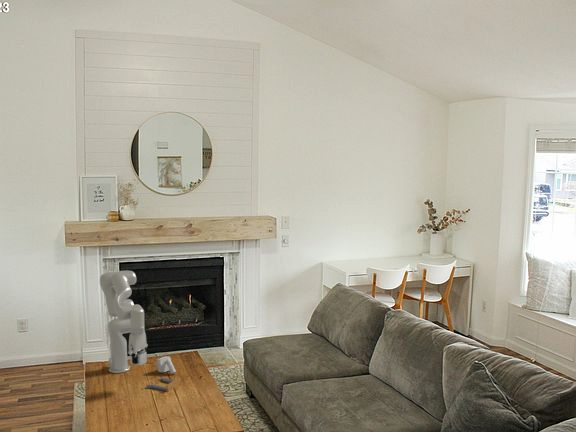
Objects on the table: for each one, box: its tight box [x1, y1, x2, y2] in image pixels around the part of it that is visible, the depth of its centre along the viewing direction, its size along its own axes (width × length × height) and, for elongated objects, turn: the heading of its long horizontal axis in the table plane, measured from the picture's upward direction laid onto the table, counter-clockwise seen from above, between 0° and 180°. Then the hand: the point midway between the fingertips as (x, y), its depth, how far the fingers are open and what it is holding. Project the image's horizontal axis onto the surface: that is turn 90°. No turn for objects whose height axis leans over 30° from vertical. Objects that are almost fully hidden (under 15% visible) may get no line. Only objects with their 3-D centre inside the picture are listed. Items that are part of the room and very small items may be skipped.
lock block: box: [129, 350, 148, 366], centre depth 318 cm, size 7×6×7 cm
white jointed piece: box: [156, 355, 177, 375], centre depth 341 cm, size 8×10×10 cm
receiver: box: [146, 376, 182, 393], centre depth 322 cm, size 15×14×4 cm
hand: (138, 361), depth 318 cm, fingers closed on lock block, 5 cm apart
